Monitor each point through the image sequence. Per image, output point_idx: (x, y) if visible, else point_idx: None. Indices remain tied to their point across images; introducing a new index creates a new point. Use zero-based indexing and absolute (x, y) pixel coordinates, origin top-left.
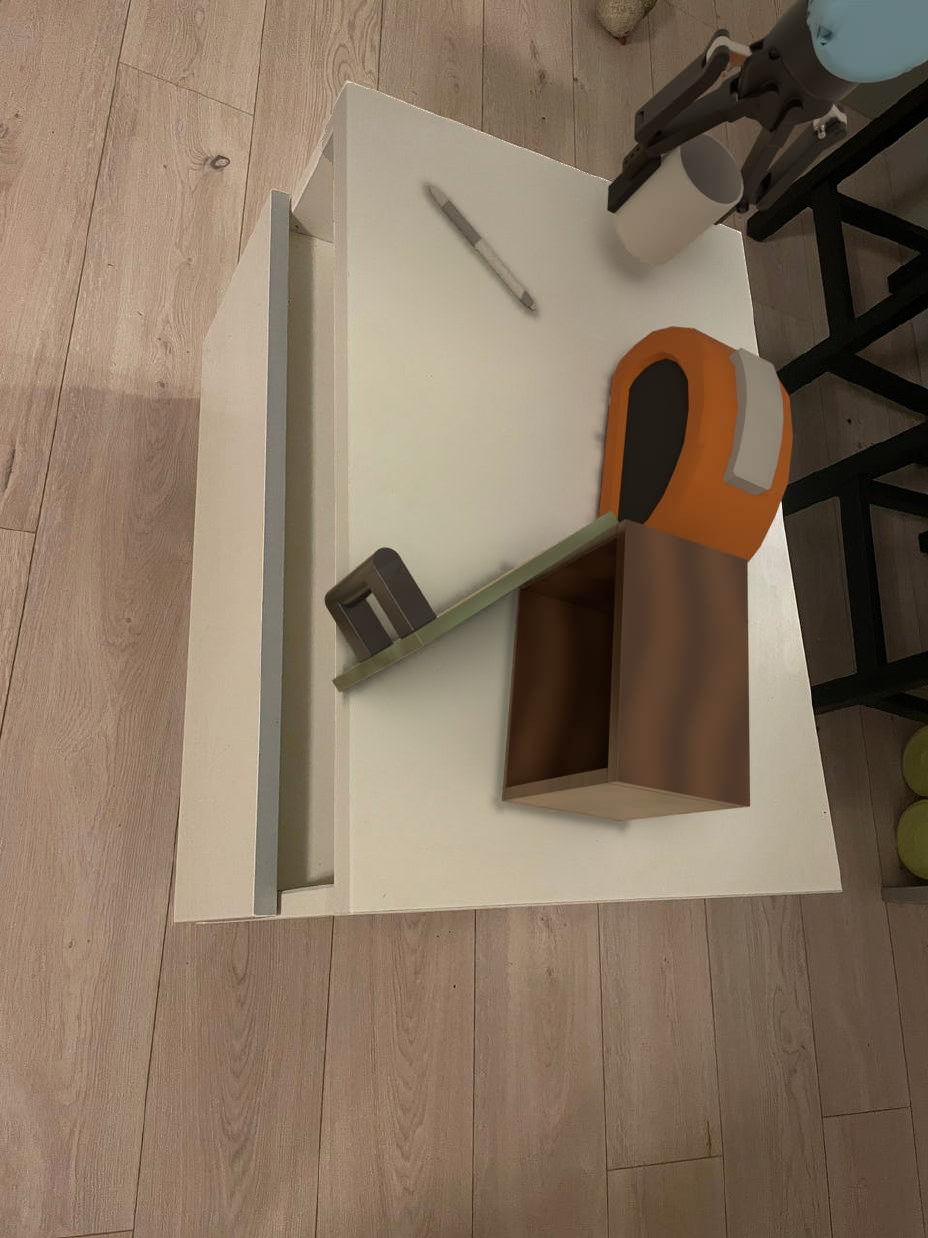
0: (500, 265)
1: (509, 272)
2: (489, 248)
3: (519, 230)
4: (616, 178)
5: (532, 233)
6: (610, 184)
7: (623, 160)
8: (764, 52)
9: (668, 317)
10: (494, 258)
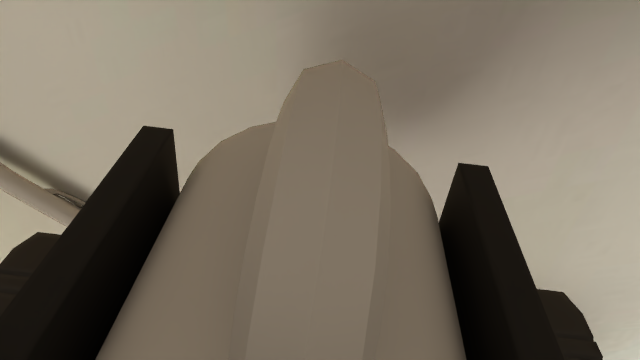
0: (47, 213)
1: (68, 223)
2: (11, 188)
3: (84, 83)
4: (125, 153)
5: (118, 80)
6: (138, 134)
7: (24, 244)
8: None
9: (508, 181)
10: (29, 205)
